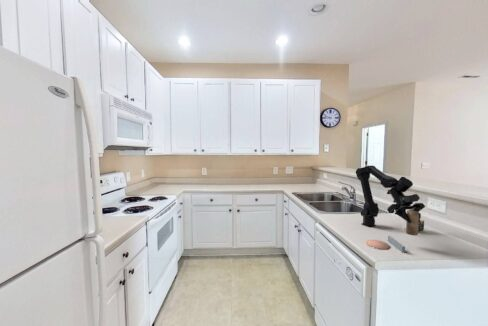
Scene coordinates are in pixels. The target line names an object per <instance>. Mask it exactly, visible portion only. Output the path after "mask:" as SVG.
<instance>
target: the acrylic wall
mask: <svg viewBox="0 0 488 326" xmlns="http://www.w3.org/2000/svg"><path fill="white" fill-rule="evenodd" d="M387 242H388V243H389V244H390V245H392V246H393V247H394V248H396V249H397V250H398V251H400V253H406V251H405V248H406V246H404V245H403V244H401V242H399V241H397V240H396V239H395V238H394V237H392V236H391V235H387Z"/></svg>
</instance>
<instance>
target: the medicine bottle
mask: <svg viewBox="0 0 488 326" xmlns="http://www.w3.org/2000/svg"><path fill="white" fill-rule="evenodd" d="M421 215H422V213H421V212H420V211H419V218H420V222H418V233H423V232H425V229H424V228H425V220H423V219H421V218H422V216H421ZM406 225H407V221H406V220H404V230H406Z"/></svg>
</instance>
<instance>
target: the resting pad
mask: <svg viewBox="0 0 488 326" xmlns="http://www.w3.org/2000/svg"><path fill="white" fill-rule="evenodd" d="M365 244H366V245H367V246H368V245H369V246H368V247H370V246H371V247H370V248H372V247H374V248H373V249H376V248H378V249H377V250H388V249H390V244H388V243H387V242H385V241H382V240H378V239H367V240H365Z"/></svg>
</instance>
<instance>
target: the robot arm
mask: <svg viewBox="0 0 488 326" xmlns="http://www.w3.org/2000/svg"><path fill="white" fill-rule="evenodd" d="M355 175H356V178H357V179H358V181H360V184H361V189H362V190H361V191H362V194H363V199H364V203H363V209H362V210H361V211H360V216H361V217H362V218H363V219H362V223H360V224H361V225H362V226H366V227H368V228H371V227H372V228H373V227H376V226H377V224H376V218H377V217H378V214H379V213H380V212H379V211H380V209H379V204H378V203H376V202H375V201H374V198H373V195H372V194H373V193H372V190H371V189H372V188H371V186H370V178H371V175H372V176H373V177H374V178H376V179H377V180H378V181H379V182H380V185H382V187H383V188H384V189H387V192H386V195H390V196H391V197H392V199H393V201H392V202H393V203H392V204H390V205H389V206H388V207H387V208H386V210H387V212H388V214H394V215H397V216H398V217H400V218H401V219H403V220H404V221H405V220H406V221H407V222H409V223H411V221H410V219H409V217H408V215H407V210H414V211H418V212H420V211H422V210H423V209H424V208H425V207H426V205H425V204H424V203H423V202H419V200H420V198H421V197H420V196H419V194H417V193H414V194H412V195H411V194H409V195H405V194H404V193H406V192H407V191H408V190H409V189H410V188H412V187H413V185H414V183H413V181H412V180H410V179H409V178H406V177H405V176H401V177H400V178H399V179H397V178H396V177H394V176H391V175H387V174H385V173H384V172H383V171H381V170H380V169H378V168H377V167H376V166H375V165H366V166H364V167H357V169H355ZM375 217H376V218H375ZM420 220H421V219H420V218H419V222H420Z"/></svg>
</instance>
